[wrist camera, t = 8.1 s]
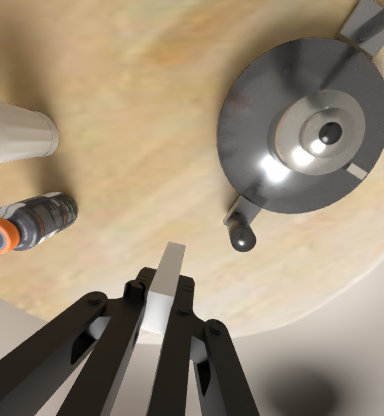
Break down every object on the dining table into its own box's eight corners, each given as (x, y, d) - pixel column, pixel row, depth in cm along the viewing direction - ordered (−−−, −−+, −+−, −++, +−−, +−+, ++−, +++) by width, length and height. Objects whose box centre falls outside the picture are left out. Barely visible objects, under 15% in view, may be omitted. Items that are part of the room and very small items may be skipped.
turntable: (277, 7, 24) (306, -51, 17) (415, 104, 26) (494, 87, 18) (171, 192, 31) (161, 206, 24) (285, 260, 32) (307, 291, 25)
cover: (295, 86, 24) (326, 64, 18) (350, 125, 25) (398, 118, 19) (253, 147, 26) (267, 148, 20) (304, 182, 27) (333, 192, 21)
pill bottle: (45, 185, 33) (-35, 204, 22) (81, 198, 33) (20, 223, 22) (40, 219, 35) (-36, 252, 24) (75, 231, 35) (15, 269, 24)
